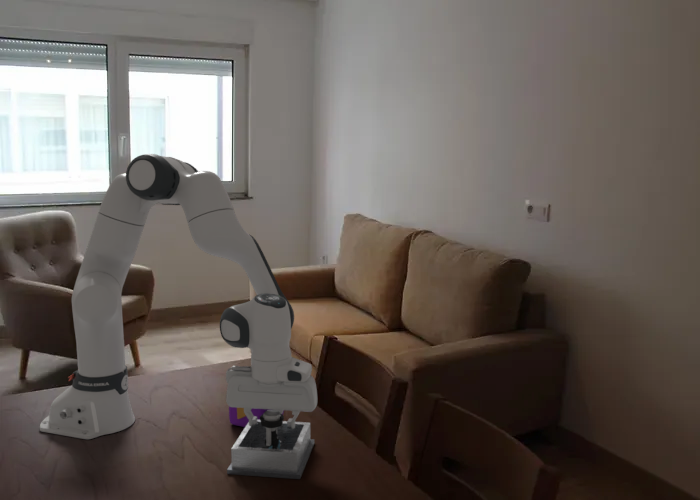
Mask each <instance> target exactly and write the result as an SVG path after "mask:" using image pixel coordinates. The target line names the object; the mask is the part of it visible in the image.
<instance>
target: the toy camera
mask: <svg viewBox="0 0 700 500" xmlns="http://www.w3.org/2000/svg"><path fill="white" fill-rule="evenodd" d="M267 410H271V409H254V408H252V409H251V412H252V414H253V415H254V416H257V420H260V416H261V415H262V414H264V412H265V411H267ZM277 411H279V412H280V414H282V415H283V416H284V412H285V410H277ZM228 419H229V423H230V424H231V425H233V426H238V427H243V428H245V427H246V425H247V424H248V422H249V419H248V418H247V416H246V415H245V413H244V408H238V407H229V406H228Z"/></svg>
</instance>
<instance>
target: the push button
mask: <svg viewBox="0 0 700 500" xmlns="http://www.w3.org/2000/svg"><path fill="white" fill-rule="evenodd" d="M260 421H261V425H262V426H264V427H265V428H266V439H265V445H264V446H263V447H262V448H266V449H280V446H281V445H280V442H281V441H279V439H278V437H277V428H278V427H280V426H281V425H282V423H283V421H285V416H284V414H283V415H282V414H280V412H279V411H277V410H267V411H265V412H264V414H262V415H261V416H260Z"/></svg>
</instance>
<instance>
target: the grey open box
mask: <svg viewBox="0 0 700 500" xmlns="http://www.w3.org/2000/svg"><path fill="white" fill-rule="evenodd" d="M287 421H288V420H287ZM287 421H286V420H283V423H282V425H281V426H280V427H278V428H277V437H278V439H279V441H281V442H280V445H281V446H280V449H266V448H262V447H263V446H264V445H265V439H266V428H265V427H264V426H262V425H261V421H260V420H257V425H256V426H249V422H248V424H247V425H246V427H243V430H242V431H241V433H240V435H239V436H238V438H237V439H236V441H235V442H234V444H233V445H232V447H230V449H231V451H230V452H231V463H230V465H229V466H228V468H227V469H226V474H227V475H236V476H237V475H238V476H250V477H251V476H252V477H262V478H263V477H265V478H277V479H278V478H279V479H289V480H290V479H291V480H301V477H302V475H303V473H304V470H305V469H306V465H307V463H308V461H309V458H310V455H311V452H312V450H313V448H314V445H315V439H314V438H313V439H311V422H307V421H306V422H304V421H295V428H294V429H288V428H287V426H288V425H287Z"/></svg>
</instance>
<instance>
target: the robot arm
mask: <svg viewBox="0 0 700 500" xmlns="http://www.w3.org/2000/svg"><path fill="white" fill-rule="evenodd" d="M157 204H161V205H163V206H164V205H165V206H166V205H167V206H168V205H169V206H180V207H181V208H182V210H183V212H184V215H185V219H186V223H187V226H188V229H189V232H190V235H191V236H190V237H191V238H192V240H193V243H194V244H195V245H196V247H197V248H198V249H199V250H201V251H202V252H203V253H206V254H208V255H209V256H213V257H216V258H217V257H218V258H222V259H225V260H228V261H231V262H234V263H235V264H238V266H240V267H241V268H242V269H243V270H244V272H245V274H246V275H247V278H248V280H249V282H250V284H251V286H252V288H253V291H254V292H255V294H256V295H255V296H253V297H252V298H251V300H249V301H246V302H243V303H239V304H234V305H231V306H230V307H226V308H224V310H223V312H222V313H221V315H220V319H219V331H220V335H221V338H222V339H223V340H224V342H225V343H226V344H227V345H229V346H231V347H232V348H239V349H245V348H247V349H250V351H251V352H250V366H249V365H245V366H244V365H243V366H239V365H232V366H231V367H229V368H227V370H226V372H225V380H226V383H227V387H226V400H225V401H226V404H227V405H228V408H229V407H238V408H244V413H245V415H246V416H247V418H248V419H249V426H256V425H257V416H254V415H253V414H252V412H251V409H252V408H254V409H271V410H284V411H287V412H288V411H289V412H290V411H291V415H292V416H293V417H290V418H288V420H287V425H288V426H287V428H288V429H294V428H295V422H296V420H297V418H298V416H299V414H300V413H301V412H307V413H312V412H314V411H315V409H316V407H318V406H317V405H318V390H317V384H316V380H315V378H314V376H313V375H312V373H313V371H312V370H313V366H312V364H311V363H309V362H307V361H305V360H304V361H303V360H300V359H298V358H296V357H293V356H292V350H291V347H290V343H291V342H290V341H291V338H292V329H293V326H294V322H295V311H294V309H293V306H292V304H291V303H290V302H289V300H288V299H287V297H286V296H285V293H284V292H282V289H281V288H280V285H279V283H278V282H277V279H276V277H275V274H274V273H273V271H272V268H271V267H270V265H269V262H268V261H267V259H266V258H267V257H266V256H265V254H264V252H263V250H262V248H261V246H260V245H259V243H258V241H257V239H255V237H254V236H252V235H251V234H249V233H248V231H247V230H246V229H244V227H243V225H242V224H241V222H240V221H239V219H238V217H237V215H236V212H235V209H234V205H233V203H232V201H231V198H230V195H229V194H228V191H227V189H226V187H225V185H224V183H223V181H222V180H221V178H220V176H218V175H217V174H216V173H214V172H213V171H209V170H200V171H199V170H198V169H197V168H195V167H194V165H192V164H190V163H189V162H186V161H182V160H180V159H177V158H175V157H173V156H163V155H158V154H155V153H144V154H140V155H138V156H136V157H135V158H133V159H132V160H131V161H130V163H129V164H128V165H127V169H126V171H125V173H120V174H118V175H116V176H115V177H114V178H113V179H112V181H111V183H110V184H109V186H108V188H107V190H106V192H105V195H104V196H103V198H102V201H101V203H100V207H99V209H98V213H97V216H96V219H95V221H94V224H93V228H92V231H91V234H90V237H89V241H88V244H87V246H86V250H85V253H84V256H83V259H82V262H81V264H80V267H79V270H78V274H77V275H76V276H77V277H76V280H75V283H74V287H73V291H72V294H71V295H72V296H71V310H72V318H73V328H74V334H75V343H76V355H77V357H76V358H77V370H75V371H73V372H72V374H71V375H70V376H68V377H67V379H68V382H71V381H72V384H71V385H70V386H69V387H68V388H66V389H65V390H64V391H63V392H61V393H60V394H59V395H58V396H57V397H55V398H54V399H53V401H52V402H51V405H50V408H49V413H48V415H47V416H46V417H45V418H44V419H43V420H41V422H40V425H39V431H40V432H43V433H49V434H54V435H59V436H66V437H70V438H71V437H72V438H75V439H81V440H82V439H83V440H91V439H94V438H95V439H96V438H98V437H100V436H104V435H109V434H114V433H117V432H120V431H124V430H126V429H128V428H129V427H131V426H132V425H133V424H134V422H135V421H136V417H135V415H134V412H133V409H132V405H131V401H130V396H129V390H128V389H129V373H128V366H127V365H126V355H125V354H126V353H125V339H124V338H125V335H124V334H125V333H124V322H123V318H124V317H123V304H122V303H123V301H122V293H123V289H124V288H123V287H124V285H125V282H126V279H127V277H128V273H129V271H130V269H131V266H132V264H133V261H134V258H135V256H136V252H137V250H138V247H139V244H140V241H141V238H142V234H143V232H144V229H145V226H146V223H147V222H146V221H147V218H148V215H149V213H150V211H151V209H152V207H154V206H155V205H157Z"/></svg>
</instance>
